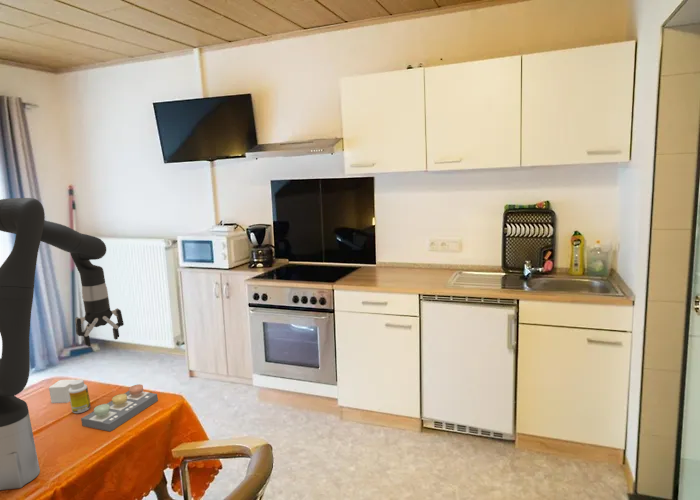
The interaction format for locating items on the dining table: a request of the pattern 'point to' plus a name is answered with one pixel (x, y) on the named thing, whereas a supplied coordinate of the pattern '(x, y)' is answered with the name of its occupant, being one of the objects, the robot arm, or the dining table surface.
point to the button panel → (120, 411)
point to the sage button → (101, 409)
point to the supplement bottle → (79, 396)
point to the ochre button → (119, 399)
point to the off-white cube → (60, 391)
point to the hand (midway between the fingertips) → (102, 342)
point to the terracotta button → (136, 389)
